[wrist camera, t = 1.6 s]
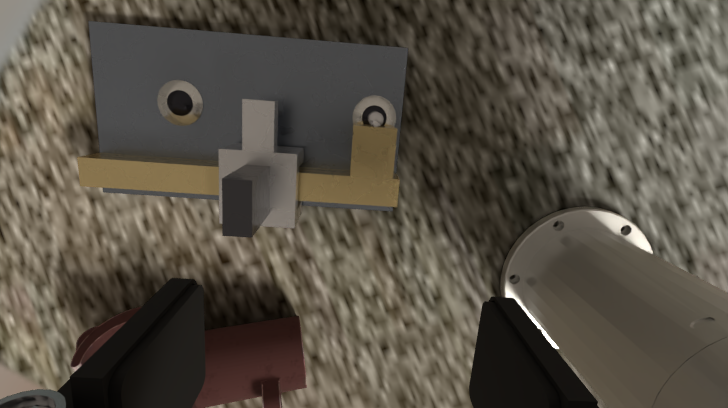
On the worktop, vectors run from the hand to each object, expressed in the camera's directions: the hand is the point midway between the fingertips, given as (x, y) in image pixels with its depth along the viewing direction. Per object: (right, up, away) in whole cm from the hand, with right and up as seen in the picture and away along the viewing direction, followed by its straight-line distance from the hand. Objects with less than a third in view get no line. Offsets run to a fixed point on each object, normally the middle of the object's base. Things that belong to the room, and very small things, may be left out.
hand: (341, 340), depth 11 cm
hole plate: (-8, +10, +20) cm, 23 cm away
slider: (-6, +7, +19) cm, 21 cm away
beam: (-8, +8, +19) cm, 22 cm away
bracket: (-13, -8, +25) cm, 29 cm away
